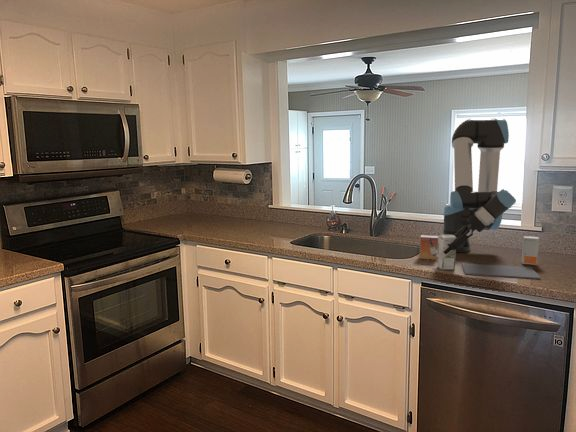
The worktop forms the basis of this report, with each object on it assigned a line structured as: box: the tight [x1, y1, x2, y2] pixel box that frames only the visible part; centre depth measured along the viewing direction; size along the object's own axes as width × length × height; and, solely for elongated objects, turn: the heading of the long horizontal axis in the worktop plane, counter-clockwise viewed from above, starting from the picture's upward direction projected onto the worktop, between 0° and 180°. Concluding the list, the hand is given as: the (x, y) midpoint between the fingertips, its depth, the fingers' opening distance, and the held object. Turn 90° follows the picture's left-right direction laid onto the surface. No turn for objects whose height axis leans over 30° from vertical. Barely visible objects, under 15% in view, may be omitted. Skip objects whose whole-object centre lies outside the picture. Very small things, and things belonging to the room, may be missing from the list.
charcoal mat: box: [461, 263, 542, 280], centre depth 196 cm, size 16×28×1 cm, turn 74°
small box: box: [418, 234, 439, 261], centre depth 219 cm, size 8×6×10 cm
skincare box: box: [520, 235, 540, 266], centre depth 207 cm, size 6×4×12 cm
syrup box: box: [436, 234, 457, 271], centre depth 201 cm, size 6×6×14 cm
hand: (438, 255), depth 202 cm, fingers closed on syrup box, 7 cm apart
